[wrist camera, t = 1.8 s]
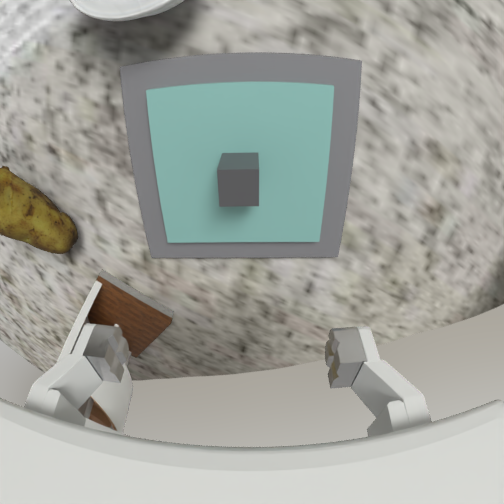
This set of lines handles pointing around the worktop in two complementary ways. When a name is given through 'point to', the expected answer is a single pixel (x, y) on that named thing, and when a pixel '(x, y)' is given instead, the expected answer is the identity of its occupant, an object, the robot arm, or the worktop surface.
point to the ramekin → (123, 8)
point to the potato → (33, 216)
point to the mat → (243, 70)
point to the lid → (241, 159)
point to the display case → (134, 331)
